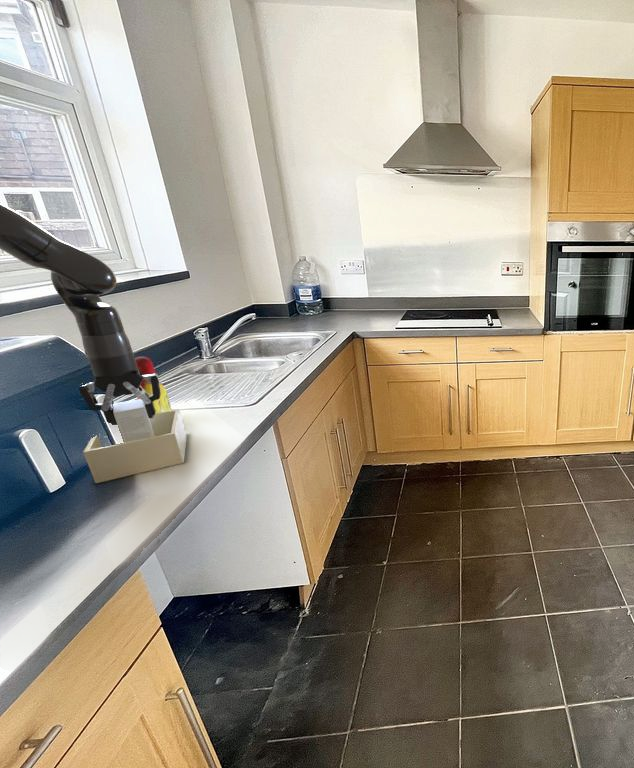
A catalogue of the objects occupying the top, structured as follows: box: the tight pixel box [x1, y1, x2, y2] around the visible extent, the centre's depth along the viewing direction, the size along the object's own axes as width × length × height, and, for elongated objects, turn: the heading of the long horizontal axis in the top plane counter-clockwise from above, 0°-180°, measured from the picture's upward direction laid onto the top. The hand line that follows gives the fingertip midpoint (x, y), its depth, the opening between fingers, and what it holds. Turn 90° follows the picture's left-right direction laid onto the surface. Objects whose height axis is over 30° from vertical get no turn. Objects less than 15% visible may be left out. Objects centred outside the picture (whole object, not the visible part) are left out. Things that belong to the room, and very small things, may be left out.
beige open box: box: [82, 408, 188, 484], centre depth 101 cm, size 16×18×8 cm
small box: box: [112, 398, 154, 443], centre depth 99 cm, size 8×6×10 cm
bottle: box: [135, 356, 172, 413], centre depth 117 cm, size 12×6×20 cm, turn 30°
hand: (133, 420), depth 99 cm, fingers closed on small box, 6 cm apart
